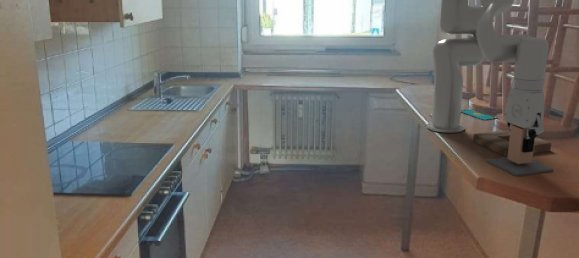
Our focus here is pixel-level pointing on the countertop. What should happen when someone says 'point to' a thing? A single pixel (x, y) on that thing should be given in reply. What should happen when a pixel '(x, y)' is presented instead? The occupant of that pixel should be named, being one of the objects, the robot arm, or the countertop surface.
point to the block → (518, 146)
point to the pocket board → (505, 142)
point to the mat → (519, 167)
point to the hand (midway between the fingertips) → (520, 148)
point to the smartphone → (476, 114)
